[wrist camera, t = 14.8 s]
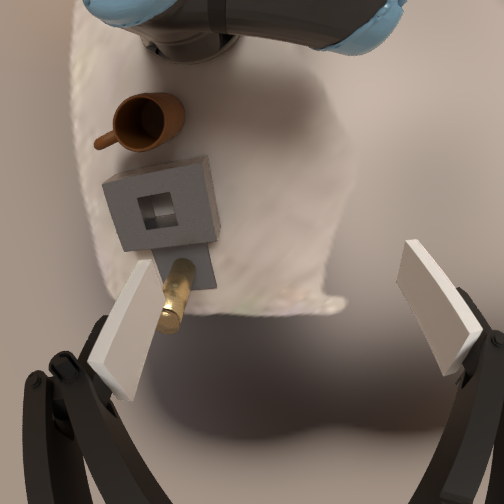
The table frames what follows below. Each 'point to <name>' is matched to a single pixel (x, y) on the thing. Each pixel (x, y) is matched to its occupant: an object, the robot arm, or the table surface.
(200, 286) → the mat
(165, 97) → the mug
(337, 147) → the table surface
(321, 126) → the table surface
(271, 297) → the table surface
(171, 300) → the gold metal cylinder
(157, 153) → the table surface
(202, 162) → the housing
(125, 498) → the robot arm
